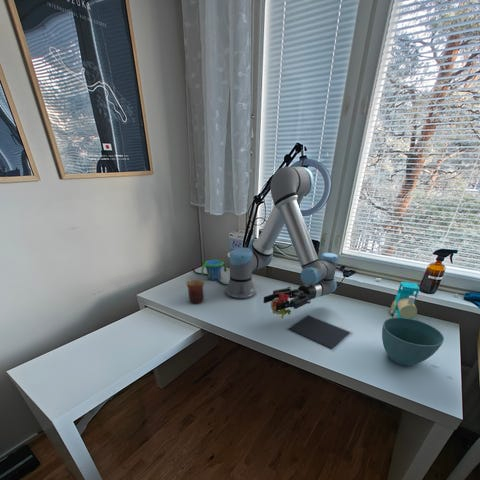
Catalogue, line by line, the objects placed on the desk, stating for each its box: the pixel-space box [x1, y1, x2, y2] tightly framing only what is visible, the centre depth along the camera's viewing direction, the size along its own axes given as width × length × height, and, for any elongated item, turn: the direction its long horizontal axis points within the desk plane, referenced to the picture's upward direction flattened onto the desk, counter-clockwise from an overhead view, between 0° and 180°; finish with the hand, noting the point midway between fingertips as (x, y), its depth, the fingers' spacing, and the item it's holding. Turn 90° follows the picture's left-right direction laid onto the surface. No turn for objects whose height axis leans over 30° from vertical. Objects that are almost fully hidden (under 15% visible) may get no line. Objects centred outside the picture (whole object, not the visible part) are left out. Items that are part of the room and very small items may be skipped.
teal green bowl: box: [381, 317, 445, 366], centre depth 95 cm, size 18×18×12 cm
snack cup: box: [200, 259, 227, 281], centre depth 160 cm, size 16×10×10 cm
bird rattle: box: [270, 292, 292, 320], centre depth 112 cm, size 6×11×9 cm
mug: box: [185, 278, 205, 305], centre depth 135 cm, size 12×9×10 cm
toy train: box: [390, 281, 420, 320], centre depth 119 cm, size 8×17×15 cm, turn 160°
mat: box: [288, 315, 350, 350], centre depth 113 cm, size 20×16×1 cm
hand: (270, 303), depth 109 cm, fingers closed on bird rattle, 7 cm apart
